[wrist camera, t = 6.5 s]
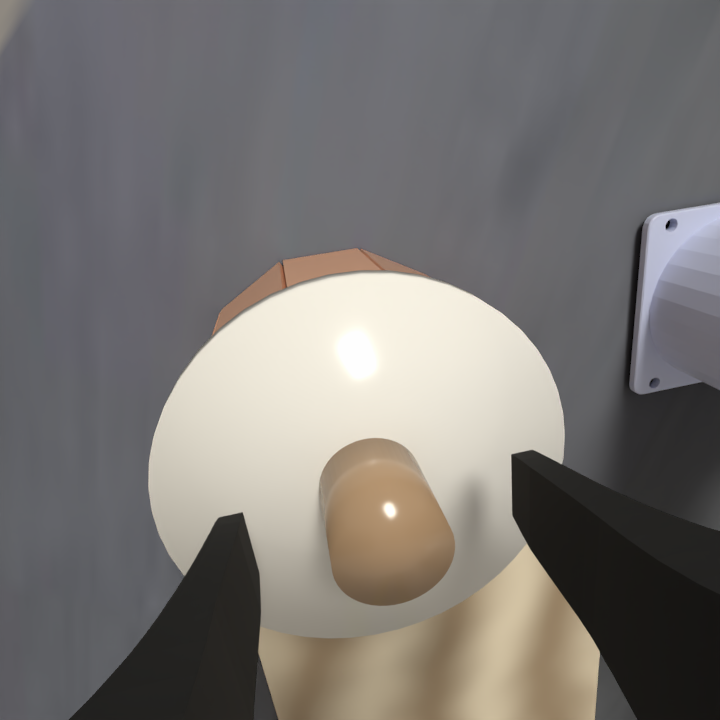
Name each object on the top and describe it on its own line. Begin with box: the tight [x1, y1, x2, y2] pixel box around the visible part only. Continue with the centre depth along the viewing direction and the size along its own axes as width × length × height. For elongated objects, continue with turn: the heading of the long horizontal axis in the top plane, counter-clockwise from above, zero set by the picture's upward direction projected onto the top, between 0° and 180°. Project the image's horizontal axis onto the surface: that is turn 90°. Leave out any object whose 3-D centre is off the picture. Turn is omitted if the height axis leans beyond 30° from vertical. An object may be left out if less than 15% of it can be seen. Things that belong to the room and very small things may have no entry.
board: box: [258, 544, 600, 720], centre depth 27 cm, size 18×18×1 cm
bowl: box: [212, 248, 430, 335], centre depth 18 cm, size 11×11×5 cm
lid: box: [148, 270, 565, 638], centre depth 14 cm, size 13×13×4 cm
